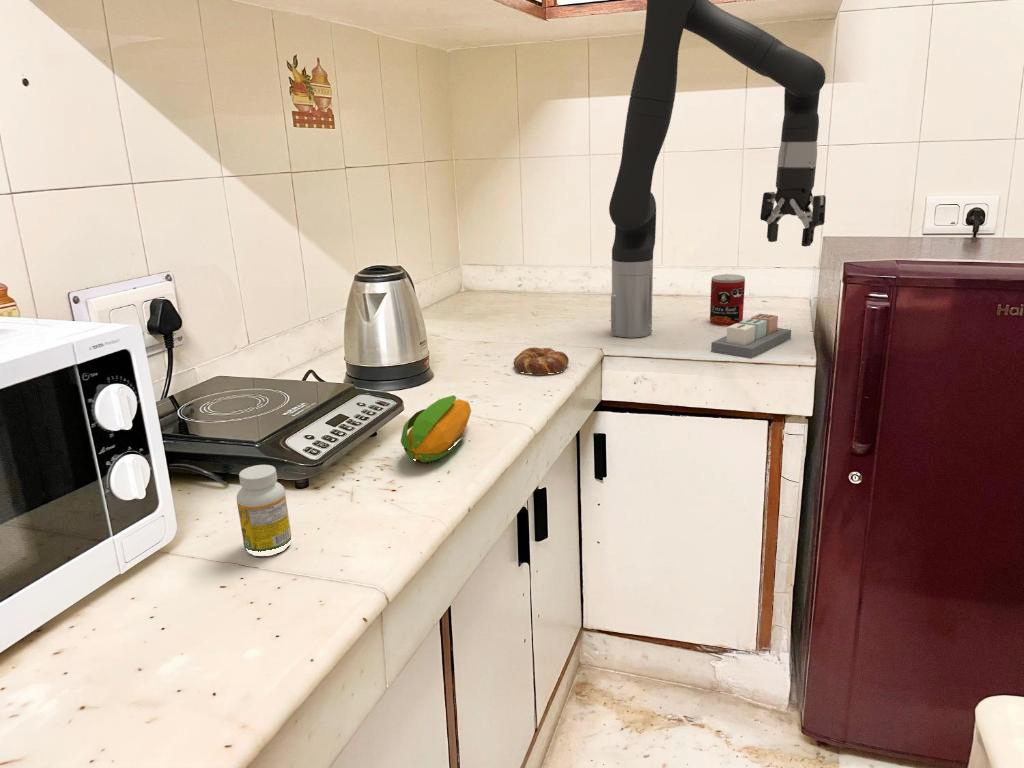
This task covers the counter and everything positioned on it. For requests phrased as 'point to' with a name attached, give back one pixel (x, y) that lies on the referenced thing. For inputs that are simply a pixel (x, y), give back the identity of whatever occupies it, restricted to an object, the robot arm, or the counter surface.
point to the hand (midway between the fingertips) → (789, 243)
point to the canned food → (727, 299)
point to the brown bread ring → (541, 361)
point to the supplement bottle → (262, 509)
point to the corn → (435, 429)
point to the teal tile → (757, 327)
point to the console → (751, 344)
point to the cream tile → (740, 334)
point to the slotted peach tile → (768, 322)
